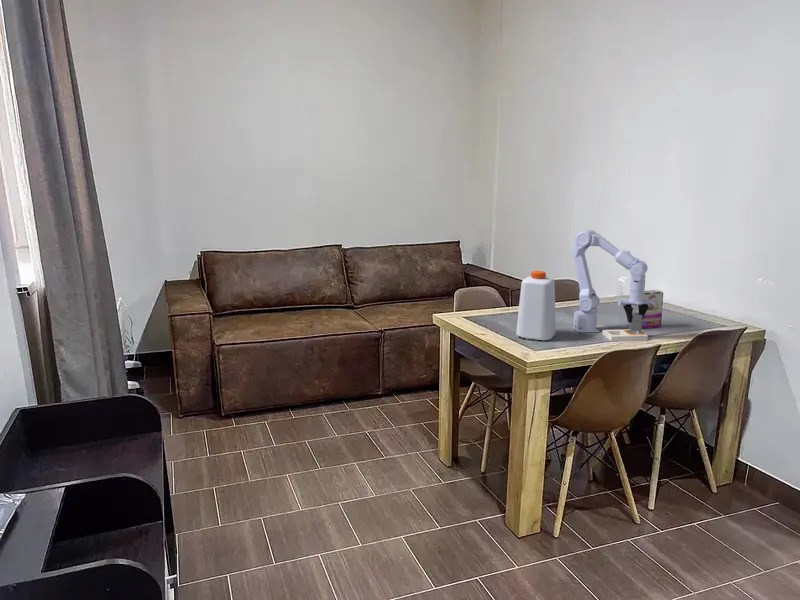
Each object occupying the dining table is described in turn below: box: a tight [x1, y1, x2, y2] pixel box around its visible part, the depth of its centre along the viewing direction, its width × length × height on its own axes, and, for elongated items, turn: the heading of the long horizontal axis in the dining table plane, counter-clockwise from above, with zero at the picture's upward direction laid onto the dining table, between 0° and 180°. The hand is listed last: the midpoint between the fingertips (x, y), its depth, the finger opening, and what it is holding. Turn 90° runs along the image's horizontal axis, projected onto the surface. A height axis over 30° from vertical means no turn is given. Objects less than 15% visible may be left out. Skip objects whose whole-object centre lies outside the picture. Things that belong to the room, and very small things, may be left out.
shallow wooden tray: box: [601, 328, 649, 342], centre depth 254 cm, size 15×10×2 cm, turn 92°
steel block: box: [627, 312, 642, 331], centre depth 253 cm, size 4×4×7 cm
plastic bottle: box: [515, 270, 557, 341], centre depth 255 cm, size 15×15×28 cm
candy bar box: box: [633, 289, 664, 330], centre depth 268 cm, size 11×5×16 cm, turn 101°
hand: (634, 321), depth 253 cm, fingers closed on steel block, 4 cm apart
